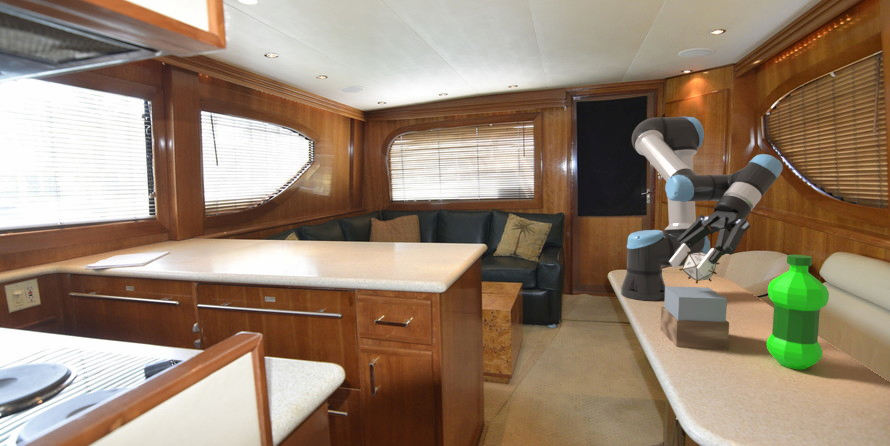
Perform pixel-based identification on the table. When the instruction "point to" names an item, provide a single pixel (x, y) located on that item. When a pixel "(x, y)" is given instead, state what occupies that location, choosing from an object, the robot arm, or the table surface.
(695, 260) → the game die
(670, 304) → the tower top
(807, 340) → the plastic bottle
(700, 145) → the robot arm
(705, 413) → the table surface
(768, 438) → the table surface
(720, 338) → the tower base
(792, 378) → the table surface
